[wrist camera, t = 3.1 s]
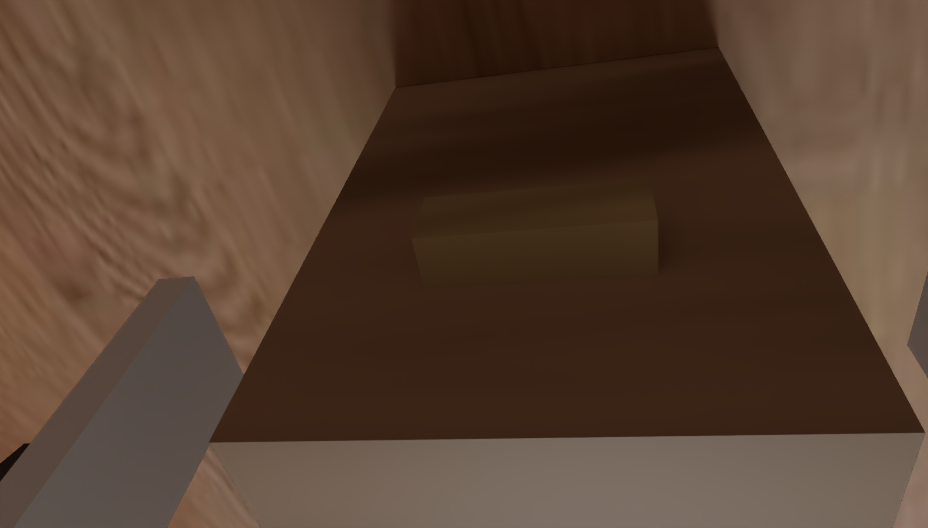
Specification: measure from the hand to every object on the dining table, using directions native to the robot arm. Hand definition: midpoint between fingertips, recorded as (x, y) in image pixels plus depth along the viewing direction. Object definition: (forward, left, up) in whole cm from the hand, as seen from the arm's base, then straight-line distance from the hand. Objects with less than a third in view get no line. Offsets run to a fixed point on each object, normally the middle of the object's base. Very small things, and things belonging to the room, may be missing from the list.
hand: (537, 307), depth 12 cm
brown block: (+1, 0, -5) cm, 5 cm away
